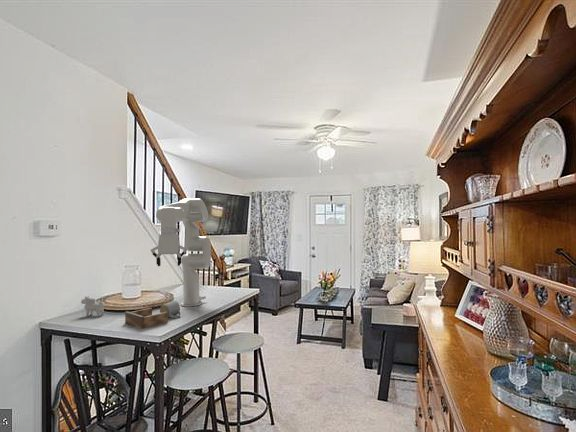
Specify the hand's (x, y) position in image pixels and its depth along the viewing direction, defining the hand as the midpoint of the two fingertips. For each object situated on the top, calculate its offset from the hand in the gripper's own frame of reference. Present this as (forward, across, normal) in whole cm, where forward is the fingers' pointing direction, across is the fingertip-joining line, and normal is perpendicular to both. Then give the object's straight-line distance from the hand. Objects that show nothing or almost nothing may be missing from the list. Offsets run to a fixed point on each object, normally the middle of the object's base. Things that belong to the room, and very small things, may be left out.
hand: (169, 265), depth 169 cm
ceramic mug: (+29, +2, -15) cm, 33 cm away
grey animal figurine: (+29, +47, -27) cm, 61 cm away
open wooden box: (+29, +12, -5) cm, 32 cm away
